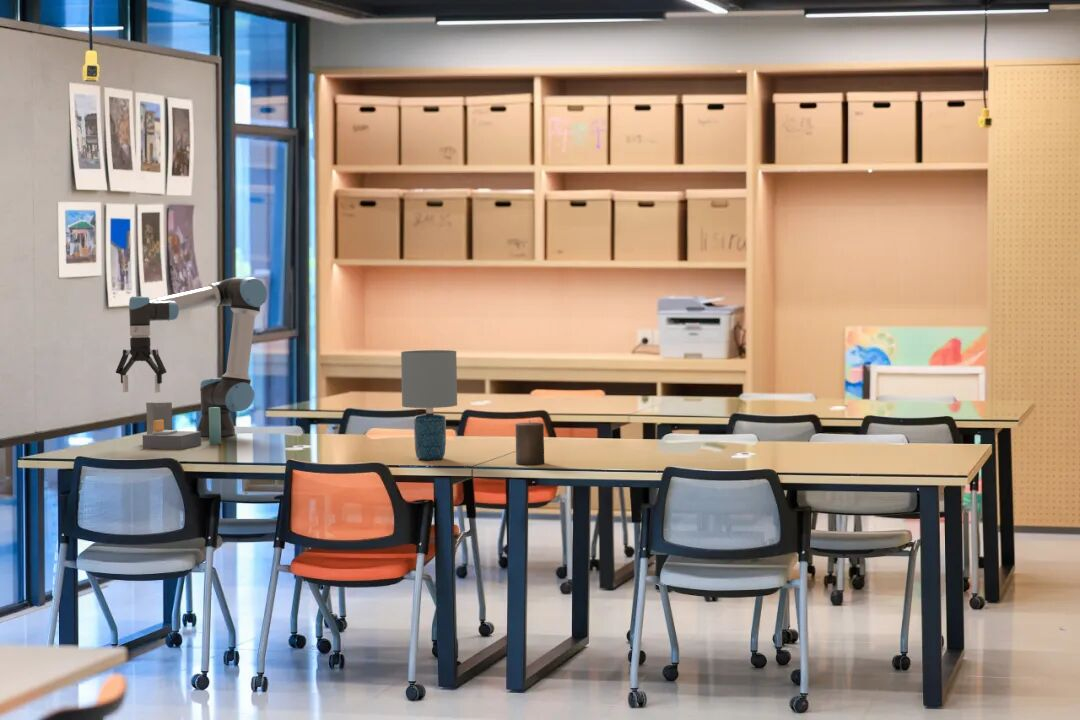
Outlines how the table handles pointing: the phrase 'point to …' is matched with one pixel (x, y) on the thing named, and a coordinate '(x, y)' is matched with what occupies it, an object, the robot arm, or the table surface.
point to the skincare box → (159, 414)
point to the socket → (172, 440)
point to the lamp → (429, 396)
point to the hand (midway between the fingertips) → (141, 392)
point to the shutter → (161, 428)
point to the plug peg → (214, 425)
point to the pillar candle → (529, 443)
